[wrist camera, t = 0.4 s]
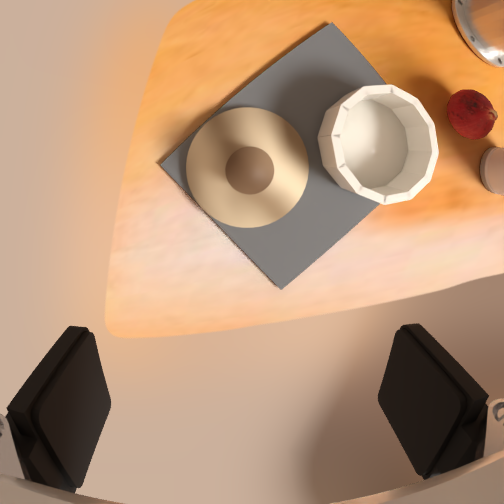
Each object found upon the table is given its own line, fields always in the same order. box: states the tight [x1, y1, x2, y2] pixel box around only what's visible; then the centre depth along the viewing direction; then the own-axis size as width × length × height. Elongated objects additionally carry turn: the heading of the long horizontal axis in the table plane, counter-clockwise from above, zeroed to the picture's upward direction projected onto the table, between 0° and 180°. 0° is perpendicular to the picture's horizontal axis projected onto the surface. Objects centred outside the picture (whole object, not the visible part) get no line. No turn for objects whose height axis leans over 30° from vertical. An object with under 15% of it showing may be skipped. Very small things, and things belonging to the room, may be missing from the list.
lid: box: [186, 107, 309, 228], centre depth 29 cm, size 12×12×6 cm
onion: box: [447, 90, 498, 140], centre depth 27 cm, size 6×6×8 cm
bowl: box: [317, 85, 439, 205], centre depth 29 cm, size 11×11×6 cm
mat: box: [161, 23, 387, 290], centre depth 32 cm, size 24×19×1 cm
